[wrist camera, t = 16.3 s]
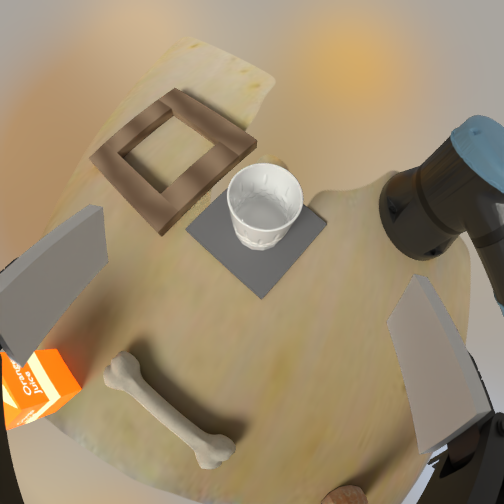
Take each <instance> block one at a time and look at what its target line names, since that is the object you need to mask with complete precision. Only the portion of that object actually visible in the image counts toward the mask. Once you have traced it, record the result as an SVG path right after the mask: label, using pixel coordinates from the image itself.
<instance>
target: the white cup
mask: <svg viewBox="0 0 504 504" xmlns="http://www.w3.org/2000/svg"><path fill="white" fill-rule="evenodd" d="M227 201H228V206H229V211H230V216H231V220H232V223H233V227H234V229H235V233H236V236H237V237H238V239H239V240H240V241H241V243H242V244H243V245H245V246H247V247H248V248H250V249H252V250H262V251H264V250H267V249H269V248H272V247H274V246H275V245H276V244H277V243H278V242H279V241H280V240H281V239H282V238H283V237H284V236H285V234H286V233H287V232H288V230H289V229H290V227H291V226H292V224H293V223H294V221H295V220H296V218H297V217H298V216H299V214H300V212H301V210H302V206H303V191H302V188H301V186H300V184H299V182H298V180H297V179H296V178H295V177H294V175H292V174H291V173H290V172H289V171H288V170H286V169H285V168H283V167H281V166H278V165H275V164H270V163H257V164H253V165H249V166H247V167H245V168H243V169H242V170H240V171H239V172H238V173H237V174H236V175H235V176H234V177H233V178H232V180H231V182H230V184H229V186H228V190H227Z"/></svg>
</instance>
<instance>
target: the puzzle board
mask: <svg viewBox="0 0 504 504" xmlns="http://www.w3.org/2000/svg"><path fill="white" fill-rule="evenodd" d="M173 115H174V116H175V117H177V118H178V119H180V120H181V121H182V122H184V123H185V124H187V125H188V126H190V127H191V128H192V129H194V130H195V131H197V132H198V133H199V134H201V135H202V136H204V137H205V138H206V139H208V140H209V141H211V142H212V143H213V144H215V146H214V147H213V148H211V149H210V150H209V151H208V152H207V153H206V154H204V155H203V156H202V157H201V158H200V159H199V160H197V161H196V162H195V163H194V164H193V165H192V166H190V167H189V168H188V169H187V170H186V171H185V172H184V173H183V174H182V175H180V176H179V177H178V178H177V179H176V180H175V181H174V182H173V183H172V184H171V185H170V186H169V187H167V188H166V189H165V190H164V191H163V192H162V193H161V194H160V193H159V192H158V191H156V190H155V189H154V188H153V187H152V186H151V185H150V184H149V183H148V182H147V181H146V180H145V179H144V178H143V177H142V176H141V175H140V174H139V173H137V172H136V171H135V170H134V169H133V168H132V167H131V166H130V165H129V164H128V163H127V162H126V161H125V160H124V159H123V157H124V156H125V155H126V154H127V153H129V152H130V151H131V150H132V149H133V148H134V147H135V146H136V145H138V144H139V143H140V142H141V141H142V140H143V139H145V138H146V137H147V136H148V135H149V134H151V133H152V132H153V131H154V130H156V129H157V128H158V127H159V126H161V125H162V124H163V123H164V122H166V121H167V120H168V119H169V118H171V117H172V116H173ZM255 148H257V140H256V139H254V138H253V137H252V136H250V135H249V134H247V133H246V132H245V131H243V130H242V129H240V128H239V127H237V126H236V125H234V124H233V123H231V122H230V121H228V120H227V119H225V118H224V117H222V116H221V115H219V114H217V113H216V112H214V111H213V110H211V109H210V108H208V107H206V106H205V105H203V104H202V103H200V102H198V101H197V100H195V99H193V98H192V97H190V96H188V95H187V94H185V93H183V92H182V91H180V90H178V89H176V88H174V89H173V90H171V91H170V92H168V93H167V94H165V95H164V96H163V97H161V98H160V99H158V100H157V101H156V102H154V103H153V104H152V105H150V106H149V107H148V108H146V109H145V110H144V111H142V112H141V113H140V114H138V115H137V116H136V117H135V118H133V119H132V120H131V121H130V122H129V123H127V124H126V125H125V126H124V127H123V128H121V129H120V130H119V131H118V132H117V133H115V134H114V135H113V136H112V137H111V138H110V139H109V140H108V141H106V142H105V143H104V144H103V145H102V146H101V147H100V148H99V149H98V150H97V151H96V152H95V153H94V154H93V155H92V156H90V157H89V159H90V160H91V161H92V163H93V164H94V165H95V166H96V167H97V168H98V170H99V171H100V172H101V173H102V174H103V175H104V176H105V177H106V178H107V180H108V181H109V182H110V183H111V184H112V185H113V186H114V187H115V188H116V189H117V190H118V191H119V193H120V194H121V195H122V196H123V197H124V198H125V199H126V200H127V201H128V202H129V203H130V204H131V205H132V206H133V207H134V209H135V210H136V211H137V212H138V213H139V214H140V215H141V216H142V217H143V218H144V219H145V220H146V221H147V222H148V223H149V224H150V225H151V226H152V227H153V228H154V229H155V230H156V231H157V232H158V233H159V234H160V235H161V236H163V235H164V234H165V233H166V232H167V231H168V230H169V229H170V228H171V227H172V226H173V225H174V224H175V223H176V222H177V221H178V220H179V219H180V218H181V217H182V216H183V215H184V214H185V213H186V212H187V211H188V210H189V209H190V208H191V207H192V206H193V205H194V204H195V203H196V202H197V201H198V200H199V199H200V198H201V197H202V196H203V195H204V194H205V193H207V192H208V191H209V190H210V189H211V188H212V187H213V186H214V185H215V184H216V183H217V182H218V181H219V180H221V178H223V177H224V176H225V175H226V174H227V173H228V172H229V171H230V170H232V169H233V168H234V167H235V166H236V165H237V164H238V163H239V162H241V161H242V160H243V159H244V158H245V157H246V156H247V155H249V154H250V153H251V152H252V151H253V150H254V149H255Z"/></svg>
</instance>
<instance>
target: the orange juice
mask: <svg viewBox="0 0 504 504" xmlns="http://www.w3.org/2000/svg"><path fill="white" fill-rule="evenodd" d="M0 354H1V356H2V388H3V405H4V415H5V424H6V430H9V429H12V428H15V427H17V426H20V425H23V424H26V423H29V422H32V421H34V420H36V419H38V418H41V417H44V416H46V415H49V414H51V413H54V412H56V411H57V410H58V409H59V408H61V407H62V406H63V405H64V404H65V403H66V402H68V401H69V400H70V399H71V398H72V397H73V396H75V395H76V394H77V393H78V392H79V391H80V390H82V389H81V387H80V386H79V384H78V383H77V381H76V380H75V378H74V377H73V375H72V374H71V372H70V371H69V369H68V367H67V366H66V364H65V363H64V361H63V359H62V358H61V356H60V354H59V353H58V351H57V349H50V350H37V351H34V353H33V354H32V355H31V357H30V358H29V360H28V361H27V363H26V364H25V366H24V367H23V368H21V367H20V366H19V365H17V364H16V363H14V362H13V361H12V360H10V359H9V357H8V356H7V354H6V353H5V352H0Z"/></svg>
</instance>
